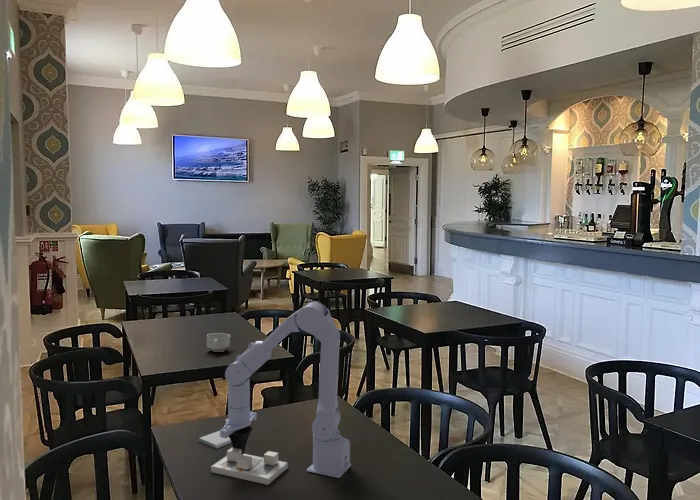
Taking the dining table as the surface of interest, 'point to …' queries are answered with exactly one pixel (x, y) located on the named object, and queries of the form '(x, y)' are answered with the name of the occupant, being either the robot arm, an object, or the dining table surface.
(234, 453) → the switch tab far
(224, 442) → the external hard drive
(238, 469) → the panel
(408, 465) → the dining table surface
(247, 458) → the switch tab mid
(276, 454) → the switch tab near
